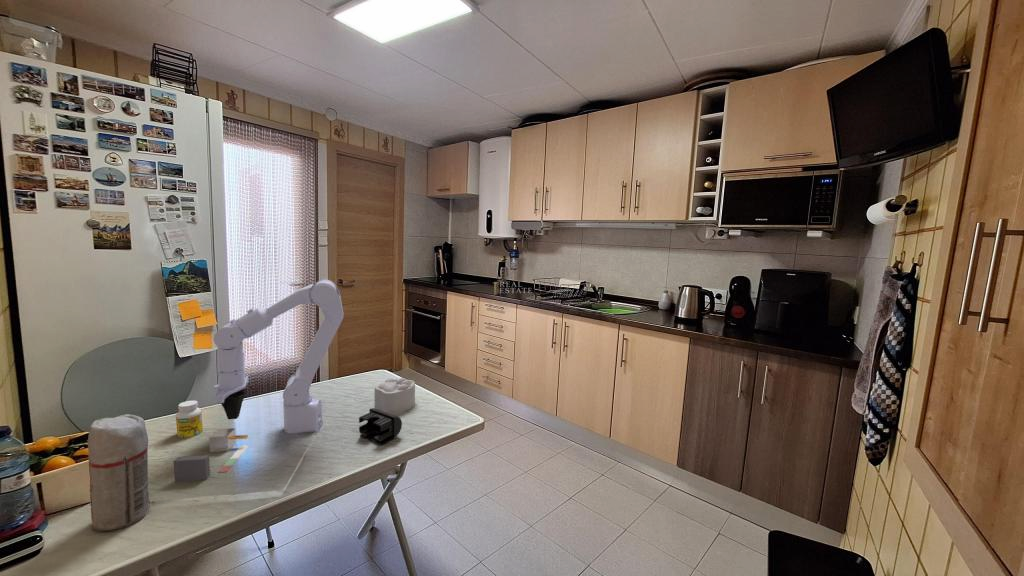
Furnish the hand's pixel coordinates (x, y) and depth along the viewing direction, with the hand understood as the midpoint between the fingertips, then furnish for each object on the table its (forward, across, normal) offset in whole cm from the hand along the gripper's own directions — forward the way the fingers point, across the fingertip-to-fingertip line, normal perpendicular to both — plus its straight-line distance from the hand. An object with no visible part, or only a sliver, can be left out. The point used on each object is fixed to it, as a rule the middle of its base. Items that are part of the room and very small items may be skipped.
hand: (233, 418), depth 105 cm
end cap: (+6, +3, +38) cm, 39 cm away
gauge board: (+6, +12, 0) cm, 13 cm away
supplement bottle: (+6, -3, -12) cm, 14 cm away
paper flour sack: (+6, +29, -7) cm, 30 cm away
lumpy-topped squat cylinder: (+6, -17, +41) cm, 45 cm away
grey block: (+5, +6, +2) cm, 8 cm away
